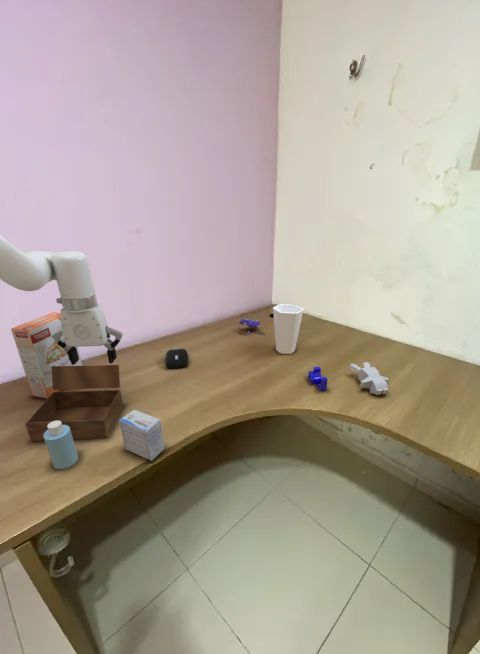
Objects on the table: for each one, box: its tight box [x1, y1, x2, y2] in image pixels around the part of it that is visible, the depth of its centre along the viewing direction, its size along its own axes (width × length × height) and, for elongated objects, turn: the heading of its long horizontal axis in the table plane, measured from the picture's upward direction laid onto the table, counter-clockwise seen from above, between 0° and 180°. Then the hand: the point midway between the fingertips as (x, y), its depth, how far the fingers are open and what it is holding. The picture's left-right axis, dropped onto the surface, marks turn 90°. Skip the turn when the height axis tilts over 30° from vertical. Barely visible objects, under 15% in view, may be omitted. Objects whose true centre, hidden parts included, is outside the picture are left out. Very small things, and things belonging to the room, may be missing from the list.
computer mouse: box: [165, 348, 189, 369], centre depth 109 cm, size 8×12×4 cm, turn 15°
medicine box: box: [118, 409, 166, 462], centre depth 69 cm, size 8×4×9 cm, turn 65°
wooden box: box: [25, 389, 124, 442], centre depth 77 cm, size 17×13×5 cm
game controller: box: [238, 315, 264, 335], centre depth 136 cm, size 10×8×10 cm
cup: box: [272, 303, 304, 355], centre depth 117 cm, size 11×10×17 cm
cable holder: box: [307, 366, 329, 392], centre depth 98 cm, size 8×4×4 cm, turn 10°
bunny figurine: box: [348, 361, 390, 396], centre depth 99 cm, size 10×5×15 cm
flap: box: [51, 364, 121, 391], centre depth 81 cm, size 16×6×1 cm
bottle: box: [43, 421, 79, 470], centre depth 65 cm, size 5×5×10 cm
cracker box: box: [10, 311, 83, 400], centre depth 88 cm, size 14×6×21 cm, turn 170°
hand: (94, 361), depth 86 cm, fingers open, 9 cm apart
